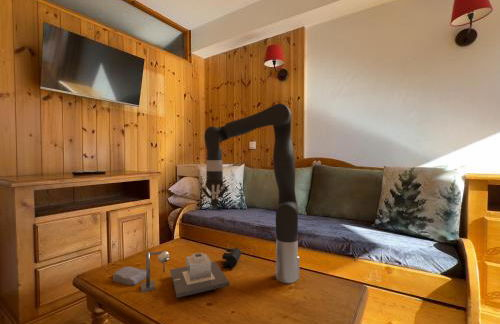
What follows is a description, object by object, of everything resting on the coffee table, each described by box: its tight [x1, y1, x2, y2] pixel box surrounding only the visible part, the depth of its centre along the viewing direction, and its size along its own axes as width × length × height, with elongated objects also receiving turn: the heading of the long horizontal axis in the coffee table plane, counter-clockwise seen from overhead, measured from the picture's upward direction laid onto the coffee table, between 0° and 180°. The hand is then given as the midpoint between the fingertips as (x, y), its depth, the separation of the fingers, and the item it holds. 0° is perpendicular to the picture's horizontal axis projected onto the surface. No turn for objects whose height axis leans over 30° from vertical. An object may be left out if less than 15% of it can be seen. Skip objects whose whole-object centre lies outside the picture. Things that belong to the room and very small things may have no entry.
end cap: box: [221, 247, 242, 270], centre depth 119 cm, size 10×7×7 cm
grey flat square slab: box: [169, 261, 230, 299], centre depth 101 cm, size 20×20×2 cm
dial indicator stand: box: [140, 250, 171, 293], centre depth 98 cm, size 11×5×14 cm, turn 115°
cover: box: [185, 252, 212, 283], centre depth 100 cm, size 8×8×9 cm
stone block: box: [112, 266, 146, 286], centre depth 104 cm, size 12×5×10 cm
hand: (214, 206), depth 114 cm, fingers closed
